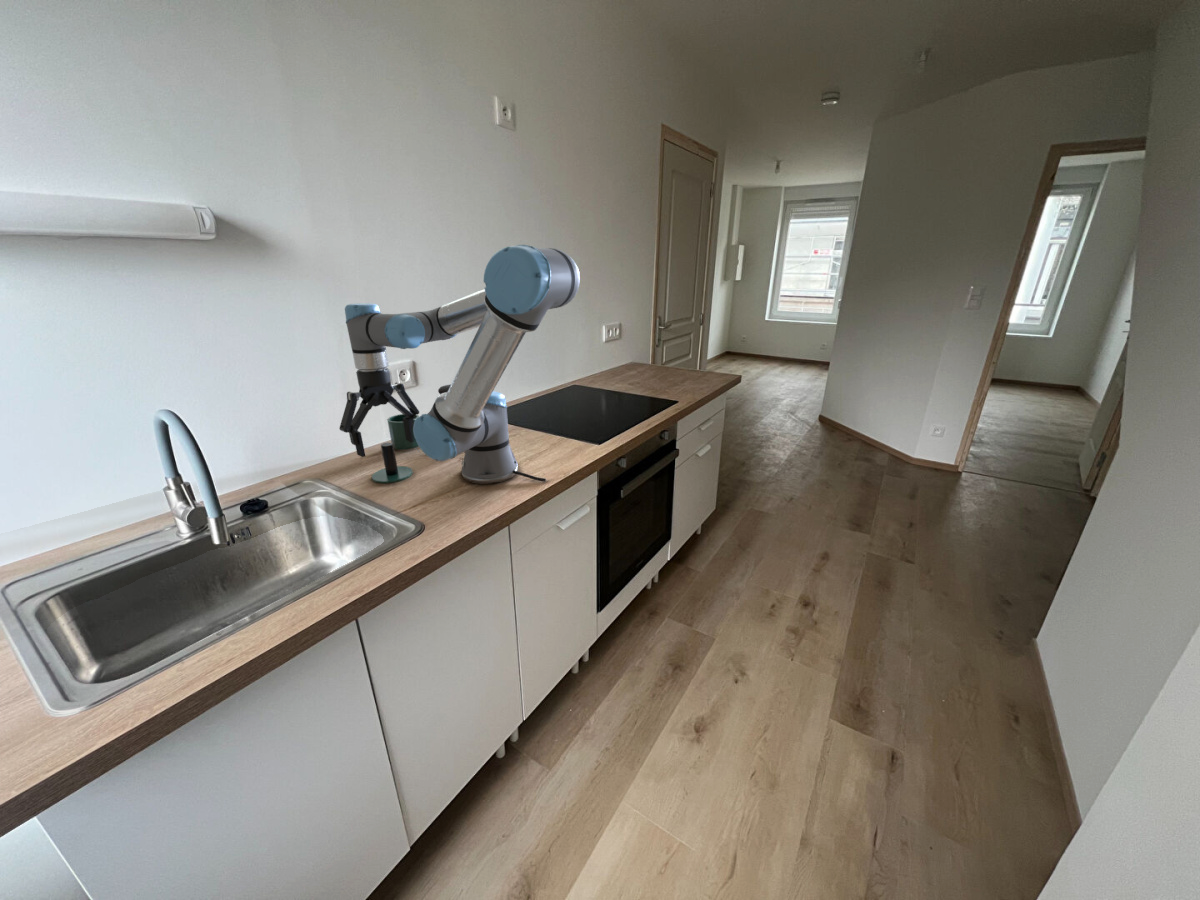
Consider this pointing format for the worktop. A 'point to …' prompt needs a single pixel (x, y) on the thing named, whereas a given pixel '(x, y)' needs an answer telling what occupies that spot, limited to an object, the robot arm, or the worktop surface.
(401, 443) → the tin
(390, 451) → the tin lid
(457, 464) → the worktop surface
